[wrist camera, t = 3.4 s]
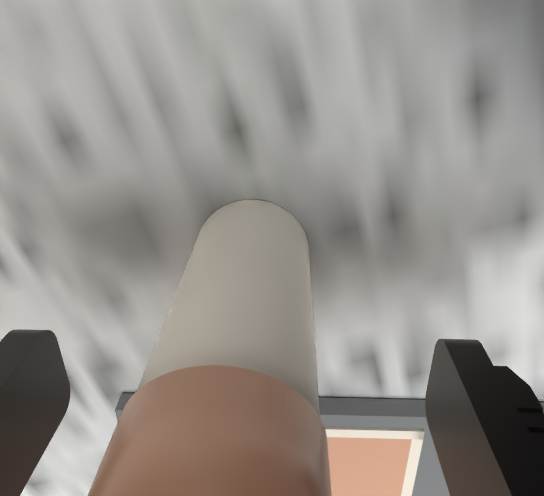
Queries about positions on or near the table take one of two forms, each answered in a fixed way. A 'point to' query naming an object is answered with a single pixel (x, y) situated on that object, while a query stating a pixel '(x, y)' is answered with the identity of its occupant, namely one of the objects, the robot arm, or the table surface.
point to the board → (376, 447)
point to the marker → (229, 373)
